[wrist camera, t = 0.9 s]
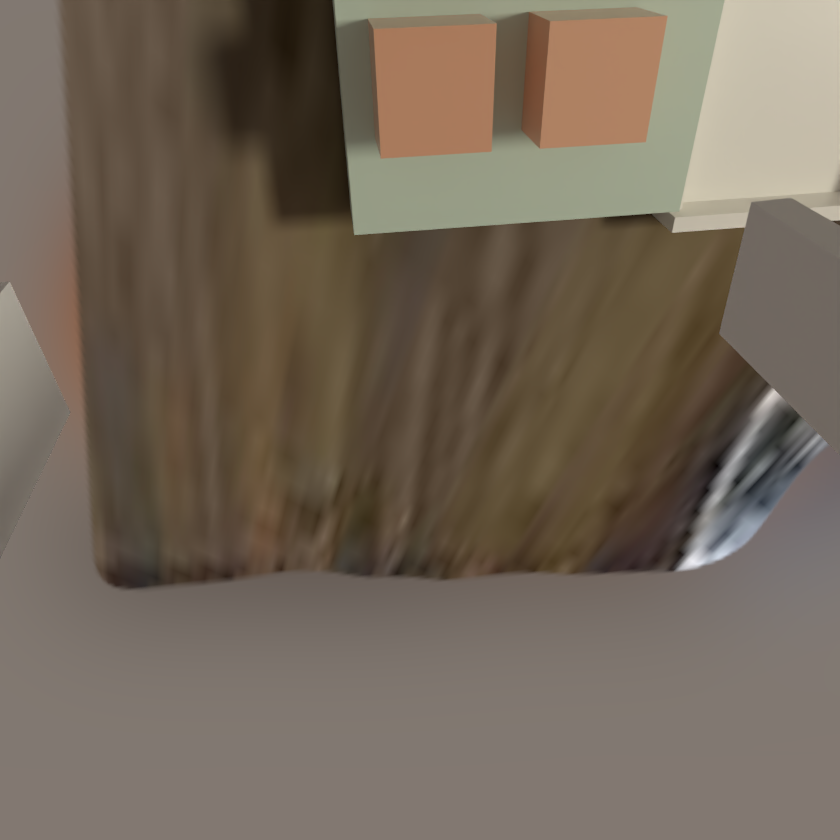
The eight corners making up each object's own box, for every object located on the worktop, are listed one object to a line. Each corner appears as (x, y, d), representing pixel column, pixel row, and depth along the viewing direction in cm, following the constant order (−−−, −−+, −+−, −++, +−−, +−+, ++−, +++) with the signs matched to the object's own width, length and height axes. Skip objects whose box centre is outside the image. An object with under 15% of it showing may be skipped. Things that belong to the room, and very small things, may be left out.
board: (322, -117, 26) (324, -120, 24) (708, -126, 28) (752, -130, 25) (350, 209, 34) (354, 235, 32) (650, 188, 36) (679, 211, 33)
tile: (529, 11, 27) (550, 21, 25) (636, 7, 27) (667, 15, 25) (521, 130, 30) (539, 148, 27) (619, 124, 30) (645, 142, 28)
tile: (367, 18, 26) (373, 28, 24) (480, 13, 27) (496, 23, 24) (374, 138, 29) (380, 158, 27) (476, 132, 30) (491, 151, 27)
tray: (726, -174, 27) (759, -181, 25) (1011, -179, 28) (1064, -186, 26) (652, 215, 37) (672, 232, 35) (866, 199, 38) (897, 215, 36)
